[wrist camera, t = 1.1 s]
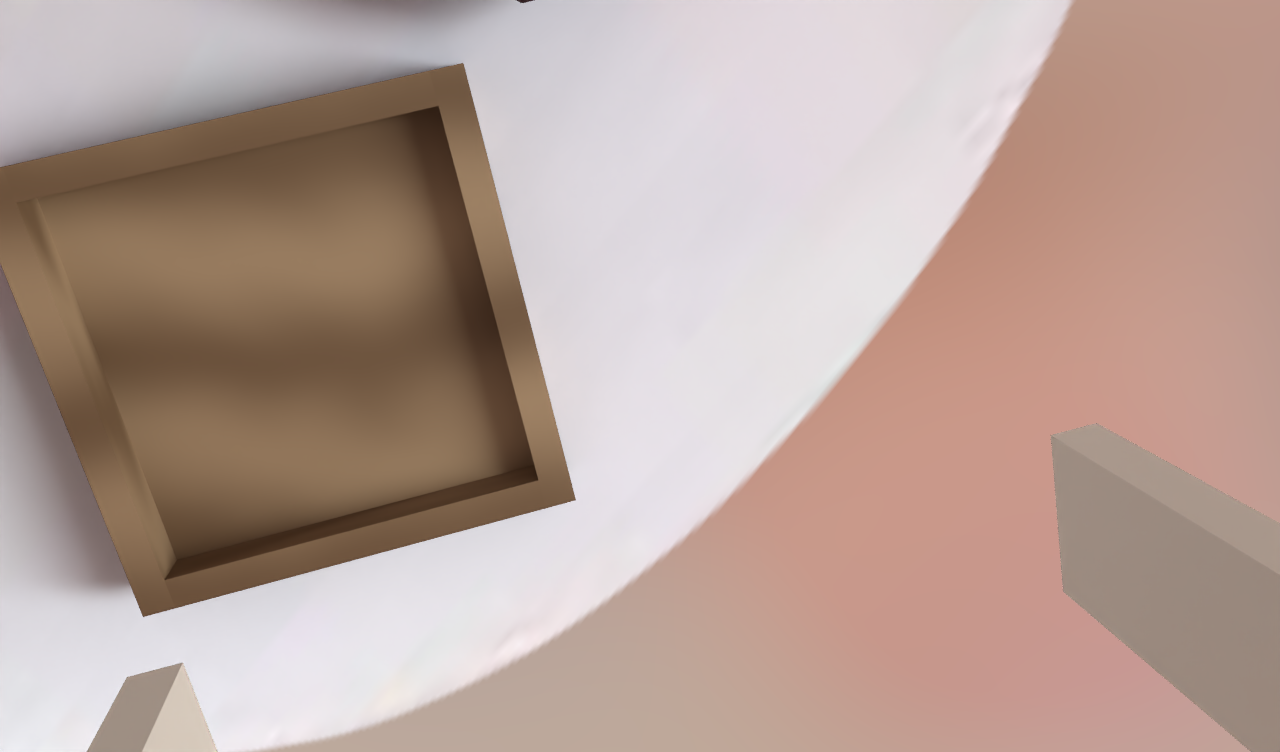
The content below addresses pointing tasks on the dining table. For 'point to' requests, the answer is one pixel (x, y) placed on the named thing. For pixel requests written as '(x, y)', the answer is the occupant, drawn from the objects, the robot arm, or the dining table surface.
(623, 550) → the dining table surface
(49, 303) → the walnut tray
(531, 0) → the fruit
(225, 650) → the dining table surface
